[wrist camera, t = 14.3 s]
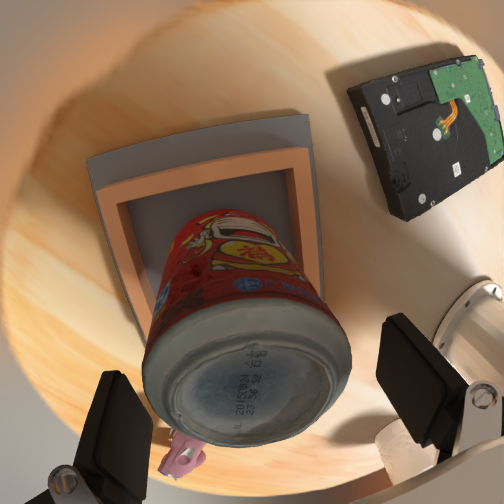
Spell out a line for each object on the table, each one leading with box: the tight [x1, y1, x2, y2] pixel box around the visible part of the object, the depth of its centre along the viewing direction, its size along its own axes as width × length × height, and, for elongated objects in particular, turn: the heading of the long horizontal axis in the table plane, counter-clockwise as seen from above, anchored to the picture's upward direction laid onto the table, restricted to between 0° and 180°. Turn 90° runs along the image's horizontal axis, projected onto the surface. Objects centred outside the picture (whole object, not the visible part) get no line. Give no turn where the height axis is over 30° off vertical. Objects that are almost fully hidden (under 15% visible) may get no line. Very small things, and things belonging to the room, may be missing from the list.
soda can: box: [142, 209, 352, 448], centre depth 14 cm, size 7×7×12 cm
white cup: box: [374, 419, 437, 486], centre depth 31 cm, size 8×8×10 cm
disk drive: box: [347, 55, 504, 222], centre depth 18 cm, size 10×3×15 cm
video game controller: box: [157, 428, 206, 480], centre depth 25 cm, size 10×5×7 cm, turn 156°
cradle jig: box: [86, 114, 324, 344], centre depth 19 cm, size 14×16×3 cm
